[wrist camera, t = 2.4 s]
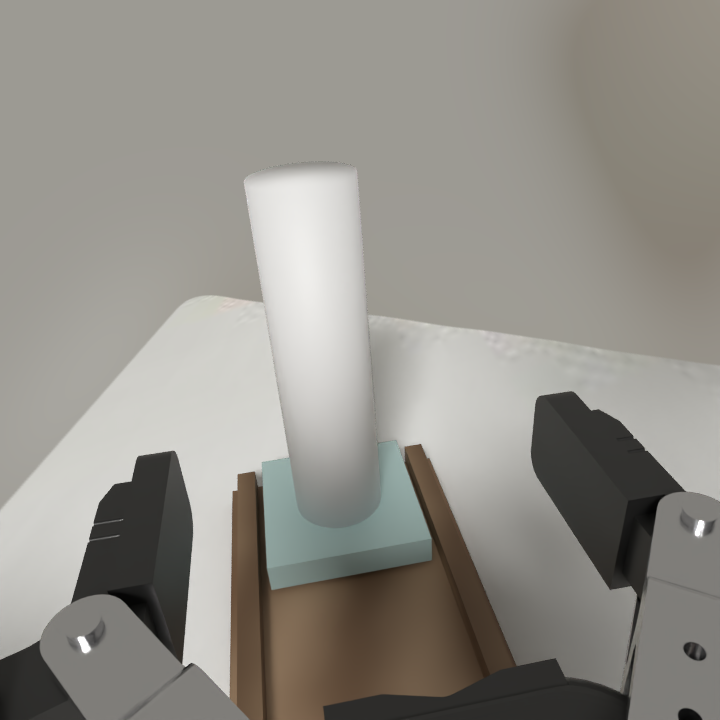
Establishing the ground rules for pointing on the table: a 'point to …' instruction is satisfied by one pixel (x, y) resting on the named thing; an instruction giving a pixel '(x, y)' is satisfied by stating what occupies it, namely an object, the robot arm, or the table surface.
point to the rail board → (358, 619)
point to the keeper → (325, 387)
